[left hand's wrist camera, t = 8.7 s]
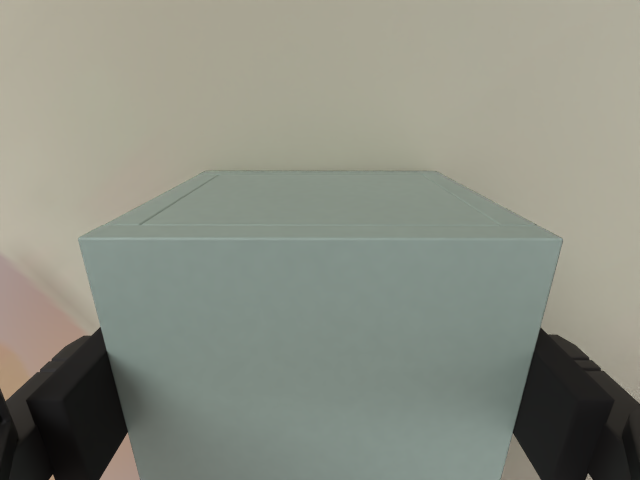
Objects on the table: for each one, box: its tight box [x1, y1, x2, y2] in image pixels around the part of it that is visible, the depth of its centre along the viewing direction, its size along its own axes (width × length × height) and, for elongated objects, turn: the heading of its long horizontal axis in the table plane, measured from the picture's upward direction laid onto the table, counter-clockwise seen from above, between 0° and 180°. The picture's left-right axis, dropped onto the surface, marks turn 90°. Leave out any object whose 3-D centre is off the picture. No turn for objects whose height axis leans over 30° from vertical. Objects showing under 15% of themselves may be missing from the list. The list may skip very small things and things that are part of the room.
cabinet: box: [78, 171, 563, 480], centre depth 15 cm, size 21×11×9 cm, turn 0°
